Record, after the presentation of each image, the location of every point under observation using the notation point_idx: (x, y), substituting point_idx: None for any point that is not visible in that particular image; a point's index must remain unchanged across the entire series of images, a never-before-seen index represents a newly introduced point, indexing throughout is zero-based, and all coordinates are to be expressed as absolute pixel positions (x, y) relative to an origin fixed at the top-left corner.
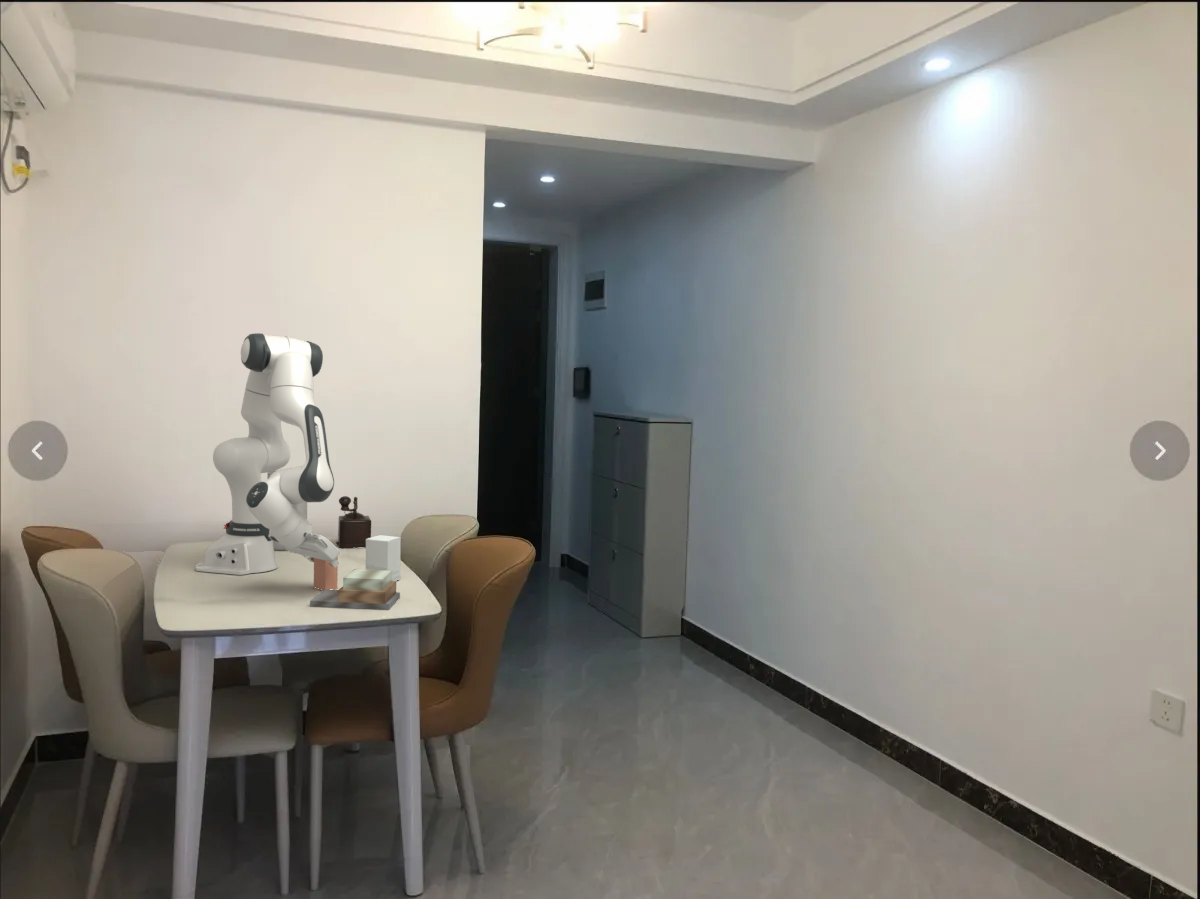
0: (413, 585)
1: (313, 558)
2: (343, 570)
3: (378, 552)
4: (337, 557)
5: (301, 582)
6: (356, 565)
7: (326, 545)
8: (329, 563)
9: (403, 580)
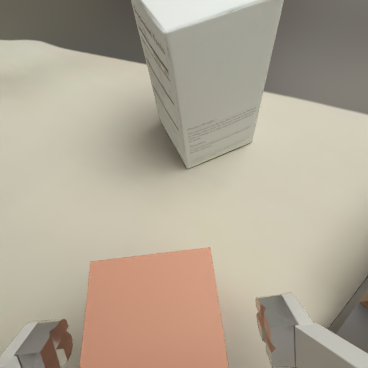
0: (288, 101)
1: (55, 351)
2: (32, 150)
3: (234, 68)
4: (210, 251)
5: None
6: (23, 109)
7: None
8: (281, 364)
9: None
